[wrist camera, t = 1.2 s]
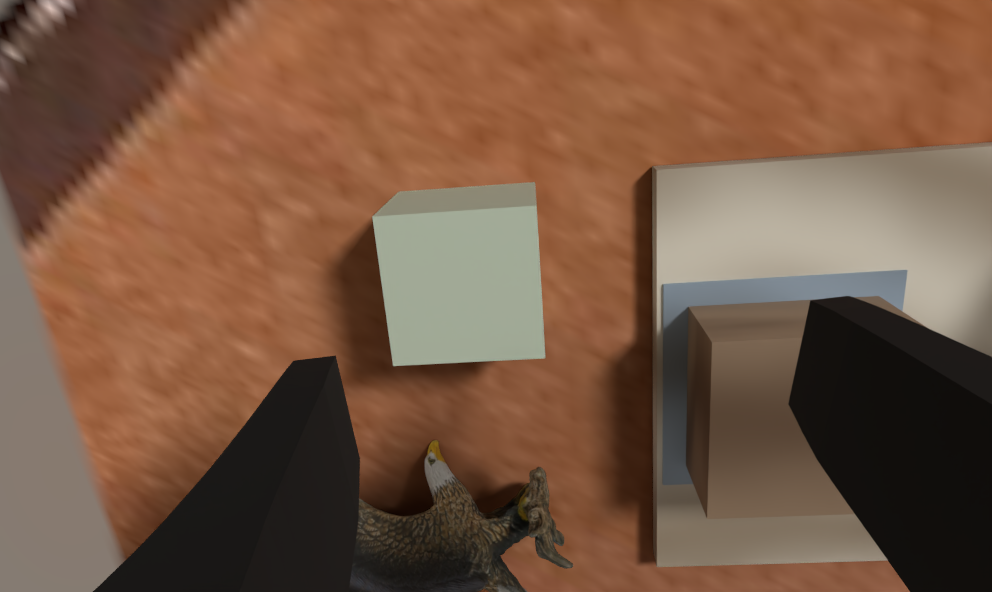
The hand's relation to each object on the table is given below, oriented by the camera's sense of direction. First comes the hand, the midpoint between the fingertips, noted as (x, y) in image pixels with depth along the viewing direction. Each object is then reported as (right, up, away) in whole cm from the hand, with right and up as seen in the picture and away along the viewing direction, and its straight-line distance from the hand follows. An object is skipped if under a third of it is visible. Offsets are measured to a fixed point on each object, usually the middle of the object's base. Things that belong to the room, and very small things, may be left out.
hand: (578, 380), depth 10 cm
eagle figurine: (-3, -6, +16) cm, 17 cm away
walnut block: (+8, -2, +12) cm, 15 cm away
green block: (-2, +3, +12) cm, 13 cm away
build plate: (+10, -1, +13) cm, 17 cm away
